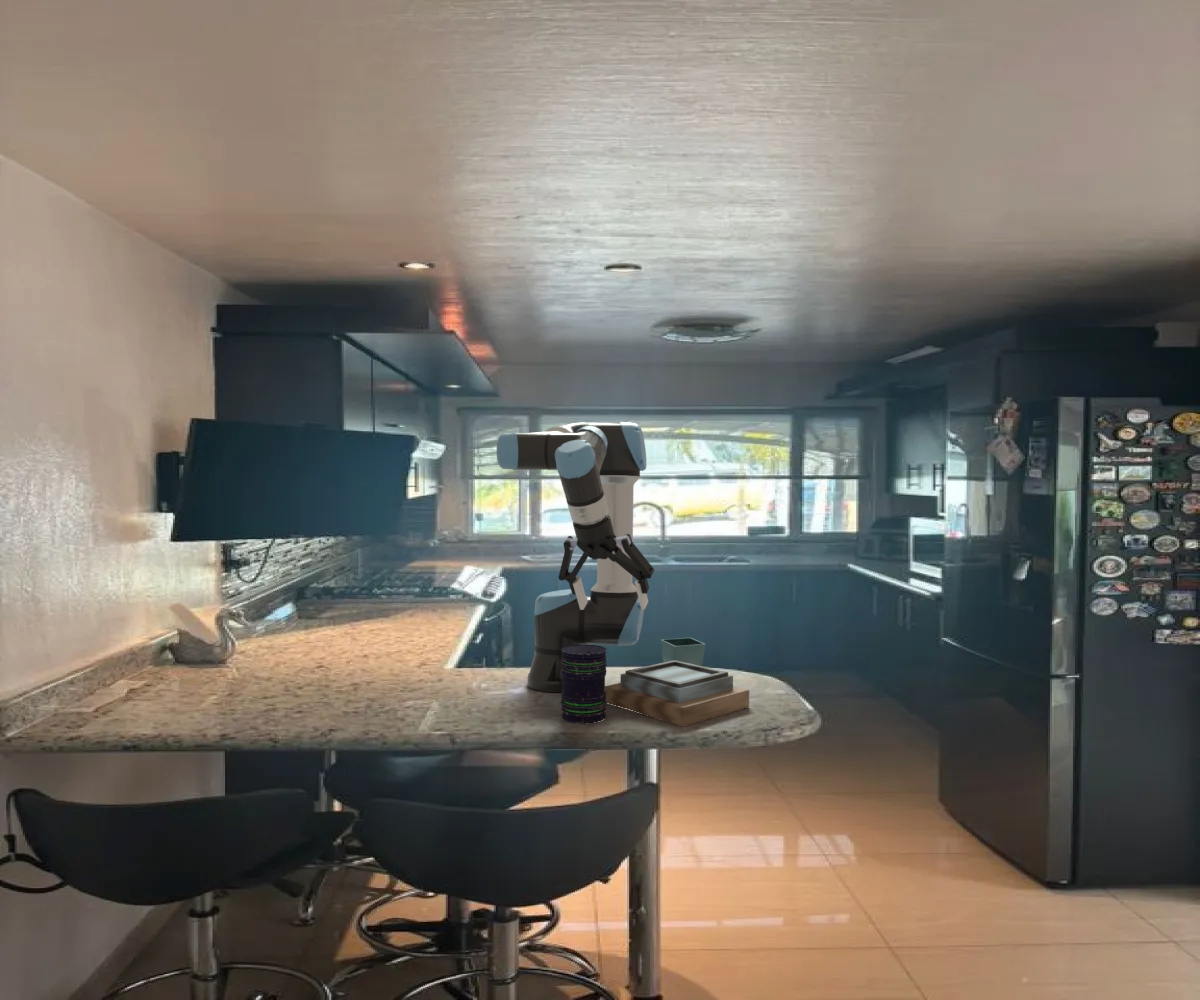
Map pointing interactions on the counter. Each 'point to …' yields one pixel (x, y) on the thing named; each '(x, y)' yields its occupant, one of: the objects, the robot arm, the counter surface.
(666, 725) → the counter surface
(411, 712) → the counter surface
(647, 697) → the tower base
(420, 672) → the counter surface
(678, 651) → the flower pot
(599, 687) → the dark blue cylinder
